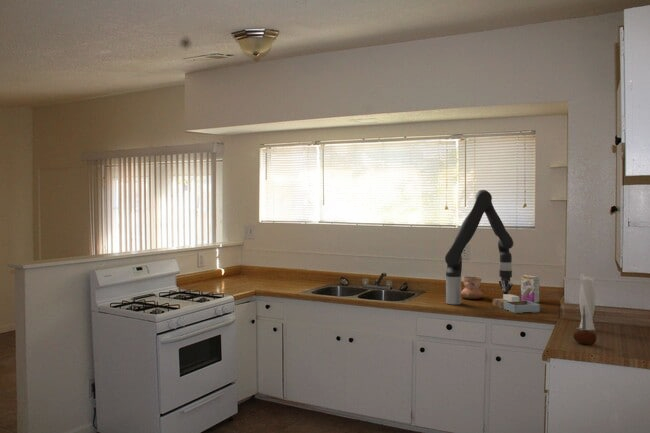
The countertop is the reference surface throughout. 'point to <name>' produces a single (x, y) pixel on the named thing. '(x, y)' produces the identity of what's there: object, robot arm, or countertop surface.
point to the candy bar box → (530, 288)
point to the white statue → (587, 303)
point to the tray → (522, 307)
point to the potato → (585, 337)
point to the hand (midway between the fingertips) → (505, 297)
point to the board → (500, 302)
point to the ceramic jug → (471, 287)
